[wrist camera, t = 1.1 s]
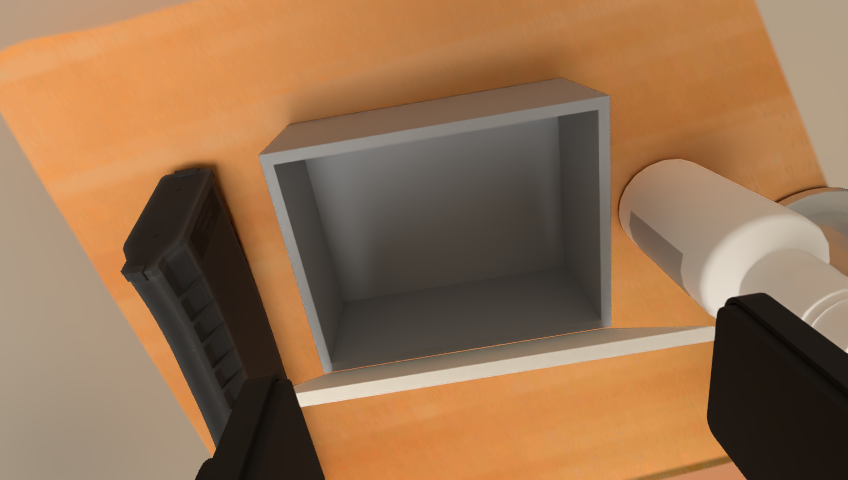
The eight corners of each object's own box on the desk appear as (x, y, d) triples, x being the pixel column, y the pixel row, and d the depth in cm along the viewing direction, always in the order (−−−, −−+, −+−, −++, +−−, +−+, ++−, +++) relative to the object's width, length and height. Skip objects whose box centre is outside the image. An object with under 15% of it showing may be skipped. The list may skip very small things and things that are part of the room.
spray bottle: (606, 243, 37) (771, 419, 21) (629, 153, 35) (839, 276, 18) (693, 248, 38) (919, 424, 22) (722, 160, 35) (1006, 286, 19)
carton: (561, 77, 32) (610, 95, 25) (569, 267, 38) (611, 326, 31) (288, 124, 33) (258, 155, 25) (337, 305, 38) (324, 372, 31)
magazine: (77, 172, 24) (206, 702, 28) (142, 162, 24) (263, 694, 28) (218, 173, 41) (287, 504, 45) (256, 167, 41) (322, 498, 45)
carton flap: (714, 325, 18) (718, 339, 18) (603, 328, 31) (605, 336, 31) (250, 400, 18) (251, 415, 18) (331, 372, 31) (332, 380, 31)
